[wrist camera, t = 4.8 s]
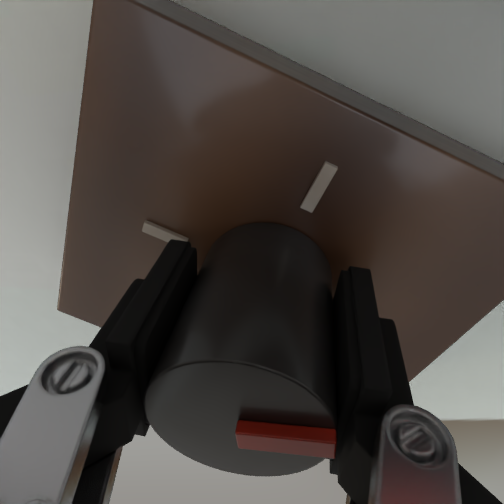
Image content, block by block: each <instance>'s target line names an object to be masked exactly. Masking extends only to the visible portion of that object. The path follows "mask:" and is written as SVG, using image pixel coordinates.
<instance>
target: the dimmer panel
mask: <svg viewBox="0 0 504 504" xmlns="http://www.w3.org/2000/svg"><path fill="white" fill-rule="evenodd" d="M261 222H264V223H275V224H280V225H284V226H287V227H290V228H293V229H295V230H297V231H299V232H301V233H303V234H304V235H306V236H307V237H309V238H310V239H311V240H312V241H313V242H315V243H316V244H317V245H318V246H319V248H320V249H321V250H322V251H323V253H324V254H325V256H326V258H327V260H328V262H329V265H330V268H331V273H332V297H333V298H334V294H335V290H336V286H337V283H338V279H339V275H340V272H341V270H346V271H348V268H349V267H350V266H353V267H360V268H366V269H370V271H371V275H372V281H373V286H374V292H375V297H376V303H377V308H378V314H379V317H380V318H387V319H392V320H393V321H394V323H395V325H396V329H397V334H398V338H399V343H400V347H401V351H402V356H403V360H404V364H405V369H406V373H407V377H408V382H410V381H411V380H412V379H413V378H414V377H415V376H417V375H418V374H419V373H420V372H421V371H422V370H424V369H425V368H426V367H427V366H428V365H429V364H430V363H432V362H433V361H434V360H435V359H436V358H437V357H438V356H440V355H441V354H442V353H443V352H444V351H445V350H446V349H448V348H449V347H450V346H451V345H452V344H453V343H455V342H456V341H457V340H458V339H459V338H460V337H461V336H463V335H464V334H465V333H466V332H467V331H468V330H469V329H471V328H472V327H473V326H474V325H475V324H476V323H478V322H479V321H480V320H481V319H482V318H483V317H484V316H486V315H487V314H488V313H489V312H490V311H491V310H492V309H494V308H495V307H496V306H497V305H498V304H499V303H500V302H502V301H503V300H504V164H502V163H500V162H498V161H496V160H494V159H492V158H490V157H488V156H486V155H484V154H482V153H480V152H478V151H476V150H474V149H472V148H470V147H468V146H466V145H464V144H462V143H460V142H458V141H456V140H453V139H451V138H449V137H447V136H445V135H443V134H441V133H439V132H437V131H435V130H433V129H431V128H429V127H427V126H425V125H423V124H421V123H419V122H417V121H415V120H413V119H411V118H409V117H407V116H404V115H402V114H400V113H398V112H396V111H394V110H392V109H390V108H388V107H386V106H384V105H382V104H380V103H378V102H376V101H374V100H372V99H370V98H368V97H366V96H364V95H362V94H360V93H358V92H355V91H353V90H351V89H349V88H347V87H345V86H343V85H341V84H339V83H337V82H335V81H333V80H331V79H329V78H327V77H325V76H323V75H321V74H319V73H317V72H315V71H313V70H311V69H309V68H307V67H304V66H302V65H300V64H298V63H296V62H294V61H292V60H290V59H288V58H286V57H284V56H282V55H280V54H278V53H276V52H274V51H272V50H270V49H268V48H266V47H264V46H262V45H260V44H258V43H255V42H253V41H251V40H249V39H247V38H245V37H243V36H241V35H239V34H237V33H235V32H233V31H231V30H229V29H227V28H225V27H223V26H221V25H219V24H217V23H215V22H213V21H211V20H209V19H206V18H204V17H202V16H200V15H198V14H196V13H194V12H192V11H190V10H188V9H186V8H184V7H182V6H180V5H178V4H176V3H174V2H172V1H170V0H93V8H92V16H91V25H90V33H89V42H88V50H87V59H86V67H85V76H84V84H83V93H82V101H81V110H80V118H79V127H78V135H77V144H76V152H75V161H74V170H73V178H72V187H71V195H70V204H69V212H68V221H67V229H66V238H65V246H64V255H63V263H62V272H61V280H60V289H59V297H58V306H57V310H59V311H61V312H63V313H66V314H68V315H71V316H74V317H76V318H79V319H81V320H84V321H86V322H89V323H91V324H94V325H96V326H99V327H101V328H102V326H103V325H104V323H105V322H106V320H107V319H108V318H109V316H110V315H111V313H112V312H113V310H114V309H115V307H116V306H117V304H118V303H119V301H120V300H121V298H122V297H123V295H124V294H125V292H126V291H127V290H128V288H129V287H130V285H131V284H132V282H133V281H134V280H135V279H145V278H146V276H147V275H148V273H149V272H150V270H151V268H152V267H153V265H154V264H155V262H156V261H157V259H158V258H159V256H160V254H161V253H162V251H163V250H164V248H165V247H166V245H167V244H168V242H169V241H170V240H171V239H174V240H180V241H187V242H190V243H191V247H194V248H196V249H197V275H198V273H199V271H200V269H201V267H202V264H203V262H204V260H205V258H206V256H207V254H208V251H209V250H210V248H211V246H212V245H213V244H214V242H215V241H216V240H217V239H218V238H219V237H220V236H222V235H223V234H224V233H226V232H228V231H229V230H231V229H234V228H236V227H238V226H242V225H245V224H250V223H261Z"/></svg>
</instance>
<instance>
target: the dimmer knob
mask: <svg viewBox="0 0 504 504" xmlns="http://www.w3.org/2000/svg"><path fill="white" fill-rule="evenodd" d="M143 404H144V411H145V414H146V417H147V419H148V421H149V423H150V425H151V426H152V428H153V429H154V431H155V432H156V433H157V434H158V435H159V436H160V437H161V438H162V439H163V440H164V441H165V442H166V443H167V444H169V445H170V446H171V447H173V448H174V449H175V450H177V451H179V452H180V453H182V454H183V455H185V456H187V457H189V458H191V459H193V460H195V461H197V462H200V463H202V464H204V465H207V466H210V467H213V468H216V469H219V470H223V471H227V472H231V473H237V474H243V475H250V476H281V475H288V474H293V473H297V472H301V471H304V470H307V469H309V468H311V467H313V466H315V465H317V464H318V463H320V462H321V461H323V460H324V459H325V458H332V459H335V457H336V444H337V441H336V440H337V435H338V430H337V403H336V377H335V350H334V324H333V297H332V273H331V268H330V265H329V262H328V260H327V258H326V256H325V254H324V253H323V251H322V250H321V249H320V248H319V246H318V245H317V244H316V243H315V242H313V241H312V240H311V239H310V238H309V237H307V236H306V235H304V234H303V233H301V232H299V231H297V230H295V229H293V228H290V227H287V226H284V225H280V224H275V223H264V222H261V223H250V224H245V225H242V226H238V227H236V228H234V229H231V230H229V231H228V232H226V233H224V234H223V235H222V236H220V237H219V238H218V239H217V240H216V241H215V242H214V244H213V245H212V246H211V248H210V250H209V251H208V254H207V256H206V258H205V260H204V262H203V264H202V267H201V269H200V271H199V273H198V275H197V278H196V280H195V282H194V284H193V286H192V289H191V291H190V293H189V295H188V297H187V300H186V302H185V304H184V306H183V308H182V310H181V313H180V315H179V317H178V319H177V321H176V324H175V326H174V328H173V330H172V332H171V335H170V337H169V339H168V341H167V343H166V345H165V348H164V350H163V352H162V354H161V356H160V359H159V361H158V363H157V365H156V367H155V370H154V372H153V374H152V376H151V378H150V380H149V383H148V385H147V387H146V390H145V393H144V399H143Z"/></svg>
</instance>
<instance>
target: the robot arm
mask: <svg viewBox="0 0 504 504" xmlns="http://www.w3.org/2000/svg"><path fill="white" fill-rule="evenodd" d="M196 278H197V249H196V248H194V247H191V243H190V242H187V241H180V240H174V239H171V240H170V241H169V242H168V244H167V245H166V247H165V248H164V250H163V251H162V253H161V254H160V256H159V258H158V259H157V261H156V262H155V264H154V265H153V267H152V268H151V270H150V272H149V273H148V275H147V276H146V278H145V279H135V280H134V281H133V282H132V284H131V285H130V287H129V288H128V290H127V291H126V292H125V294H124V295H123V297H122V298H121V300H120V301H119V303H118V304H117V306H116V307H115V309H114V310H113V312H112V313H111V315H110V316H109V318H108V319H107V320H106V322H105V323H104V325H103V326H102V328H101V329H100V331H99V332H98V334H97V335H96V337H95V338H94V340H93V341H92V343H91V344H90V346H89V347H86V346H75V347H69V348H66V349H63V350H60V351H58V352H56V353H54V354H52V355H51V356H49V357H48V358H47V359H46V360H45V361H43V362H42V363H41V365H40V366H39V367H38V369H37V370H36V372H35V374H34V376H33V378H32V379H31V381H30V383H29V384H28V385H26V386H24V387H21V388H19V389H17V390H14V391H12V392H9V393H7V394H5V395H2V396H0V504H109V502H110V497H111V493H112V489H113V485H114V481H115V477H116V472H117V469H118V464H119V460H120V456H121V452H122V447H123V446H124V445H125V444H127V443H129V442H131V441H132V439H133V437H134V435H135V434H136V435H141V436H145V435H146V433H147V431H148V428H149V425H150V423H149V421H148V419H147V417H146V414H145V411H144V404H143V399H144V393H145V390H146V387H147V385H148V383H149V380H150V378H151V376H152V374H153V372H154V370H155V367H156V365H157V363H158V361H159V359H160V356H161V354H162V352H163V350H164V348H165V345H166V343H167V341H168V339H169V337H170V335H171V332H172V330H173V328H174V326H175V324H176V321H177V319H178V317H179V315H180V313H181V310H182V308H183V306H184V304H185V302H186V300H187V297H188V295H189V293H190V291H191V289H192V286H193V284H194V282H195V280H196ZM333 324H334V350H335V377H336V403H337V430H338V435H337V440H336V441H337V444H336V457H335V459H332V458H326V459H330V473H331V474H336V475H338V483H339V484H340V485H341V487H342V488H343V489H344V490H345V492H346V493H347V498H346V504H502V503H501V502H500V501H499V500H498V499H497V498H496V497H495V496H494V495H493V494H491V493H490V492H489V491H488V490H487V489H486V488H485V487H484V486H483V485H482V484H480V483H479V482H478V481H477V480H476V479H475V478H474V477H473V476H472V475H471V474H469V473H468V472H467V471H466V470H465V469H464V468H463V467H462V466H461V465H460V464H459V463H458V459H457V450H456V446H455V442H454V439H453V437H452V435H451V434H450V432H449V430H448V429H447V427H446V426H445V425H444V424H443V423H442V422H441V421H440V420H439V419H438V418H437V417H435V416H434V415H433V414H431V413H430V412H429V411H427V410H424V409H422V408H420V407H418V406H414V404H413V399H412V395H411V390H410V386H409V382H408V377H407V373H406V369H405V364H404V360H403V356H402V351H401V347H400V343H399V338H398V334H397V329H396V325H395V323H394V321H393V320H392V319H387V318H380V317H379V314H378V308H377V303H376V297H375V292H374V286H373V281H372V275H371V271H370V269H366V268H360V267H353V266H350V267H349V268H348V271H346V270H341V272H340V275H339V279H338V283H337V286H336V290H335V294H334V298H333Z"/></svg>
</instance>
